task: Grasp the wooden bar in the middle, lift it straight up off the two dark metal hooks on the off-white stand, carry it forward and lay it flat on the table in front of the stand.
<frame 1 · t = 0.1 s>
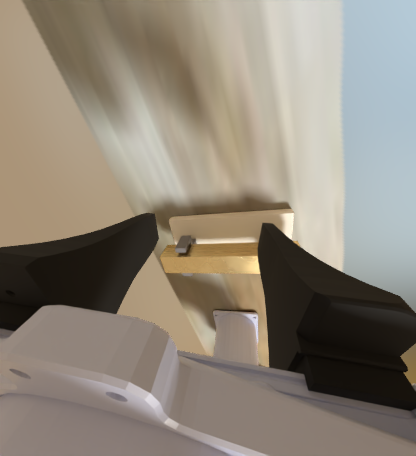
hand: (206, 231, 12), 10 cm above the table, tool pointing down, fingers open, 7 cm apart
hook stand: (229, 236, 23), on the table
wooden bar: (228, 251, 21), point 3 cm above the table, touching hook stand
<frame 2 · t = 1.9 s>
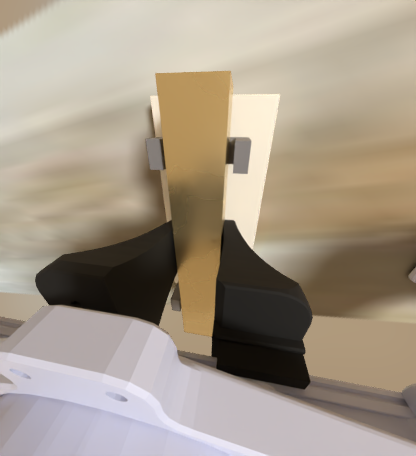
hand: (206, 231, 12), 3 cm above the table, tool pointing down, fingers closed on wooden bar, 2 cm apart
hook stand: (212, 212, 14), on the table
wooden bar: (205, 234, 11), point 3 cm above the table, touching gripper, hook stand
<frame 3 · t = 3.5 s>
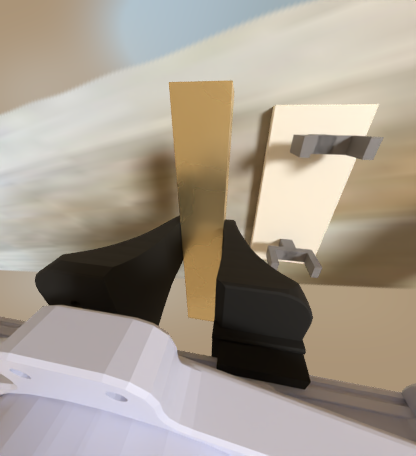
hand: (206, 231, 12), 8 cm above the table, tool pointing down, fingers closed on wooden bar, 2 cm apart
hook stand: (294, 196, 17), on the table
wooden bar: (208, 225, 12), point 7 cm above the table, touching gripper
when the fingers open (2 cm above the table, at t = 4.9 s): wooden bar stays where it is, on the table.
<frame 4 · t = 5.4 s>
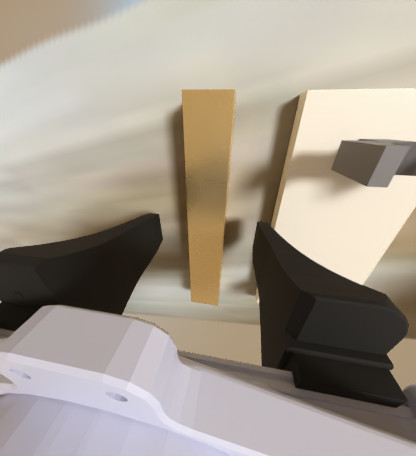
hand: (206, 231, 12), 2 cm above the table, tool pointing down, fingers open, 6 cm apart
hook stand: (322, 227, 12), on the table
wooden bar: (210, 216, 14), on the table
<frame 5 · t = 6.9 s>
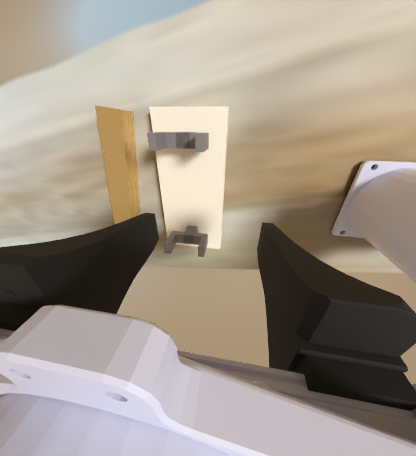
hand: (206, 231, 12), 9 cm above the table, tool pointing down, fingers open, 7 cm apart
hook stand: (193, 187, 20), on the table
wooden bar: (130, 183, 21), on the table
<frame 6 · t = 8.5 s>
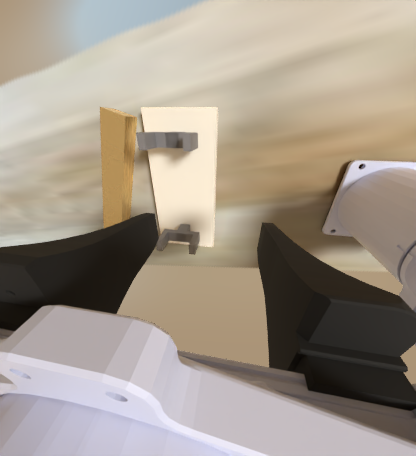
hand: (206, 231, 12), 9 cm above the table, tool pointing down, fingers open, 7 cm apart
hook stand: (186, 186, 20), on the table
wooden bar: (124, 182, 21), on the table
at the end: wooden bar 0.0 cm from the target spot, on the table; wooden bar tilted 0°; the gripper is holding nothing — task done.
